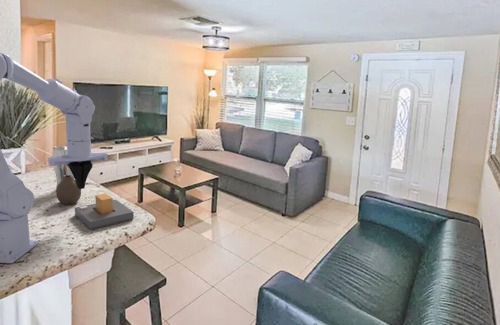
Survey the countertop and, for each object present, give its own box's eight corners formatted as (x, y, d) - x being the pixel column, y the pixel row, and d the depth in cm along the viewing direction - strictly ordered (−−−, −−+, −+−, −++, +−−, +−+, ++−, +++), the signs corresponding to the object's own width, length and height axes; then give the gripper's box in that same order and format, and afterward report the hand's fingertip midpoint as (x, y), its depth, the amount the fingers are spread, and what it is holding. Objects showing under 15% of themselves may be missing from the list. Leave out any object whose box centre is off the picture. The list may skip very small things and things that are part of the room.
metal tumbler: (70, 193, 111) (68, 150, 107) (50, 192, 111) (47, 149, 108) (81, 187, 118) (79, 146, 114) (62, 185, 118) (59, 145, 114)
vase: (53, 207, 100) (51, 179, 98) (60, 198, 106) (58, 173, 104) (78, 206, 102) (77, 179, 100) (83, 198, 108) (82, 173, 106)
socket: (133, 219, 95) (133, 210, 95) (90, 230, 87) (90, 220, 86) (116, 206, 104) (115, 198, 103) (75, 215, 95) (74, 206, 95)
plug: (112, 217, 95) (112, 198, 93) (102, 220, 93) (101, 200, 91) (106, 212, 98) (106, 193, 96) (96, 214, 96) (95, 195, 94)
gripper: (100, 135, 96) (102, 180, 99) (43, 138, 86) (47, 188, 89) (110, 140, 91) (111, 186, 94) (51, 143, 81) (54, 195, 84)
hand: (80, 187), depth 91 cm, fingers closed
